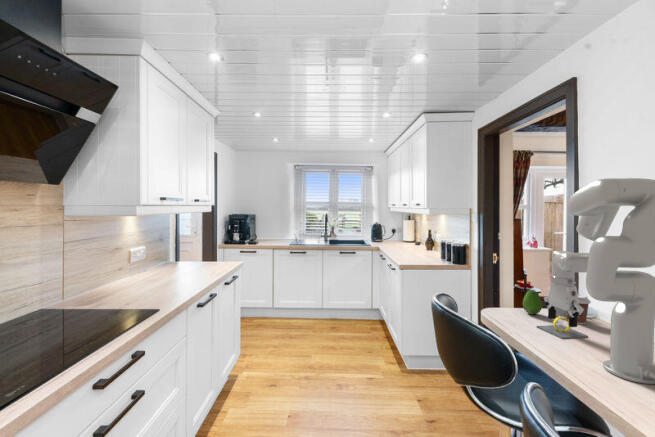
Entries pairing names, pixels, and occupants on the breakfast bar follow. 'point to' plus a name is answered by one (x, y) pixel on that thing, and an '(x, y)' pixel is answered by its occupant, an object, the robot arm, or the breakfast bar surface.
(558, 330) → the watch
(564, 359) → the breakfast bar surface
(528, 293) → the avocado
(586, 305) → the coffee cup
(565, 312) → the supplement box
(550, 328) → the slate coaster
